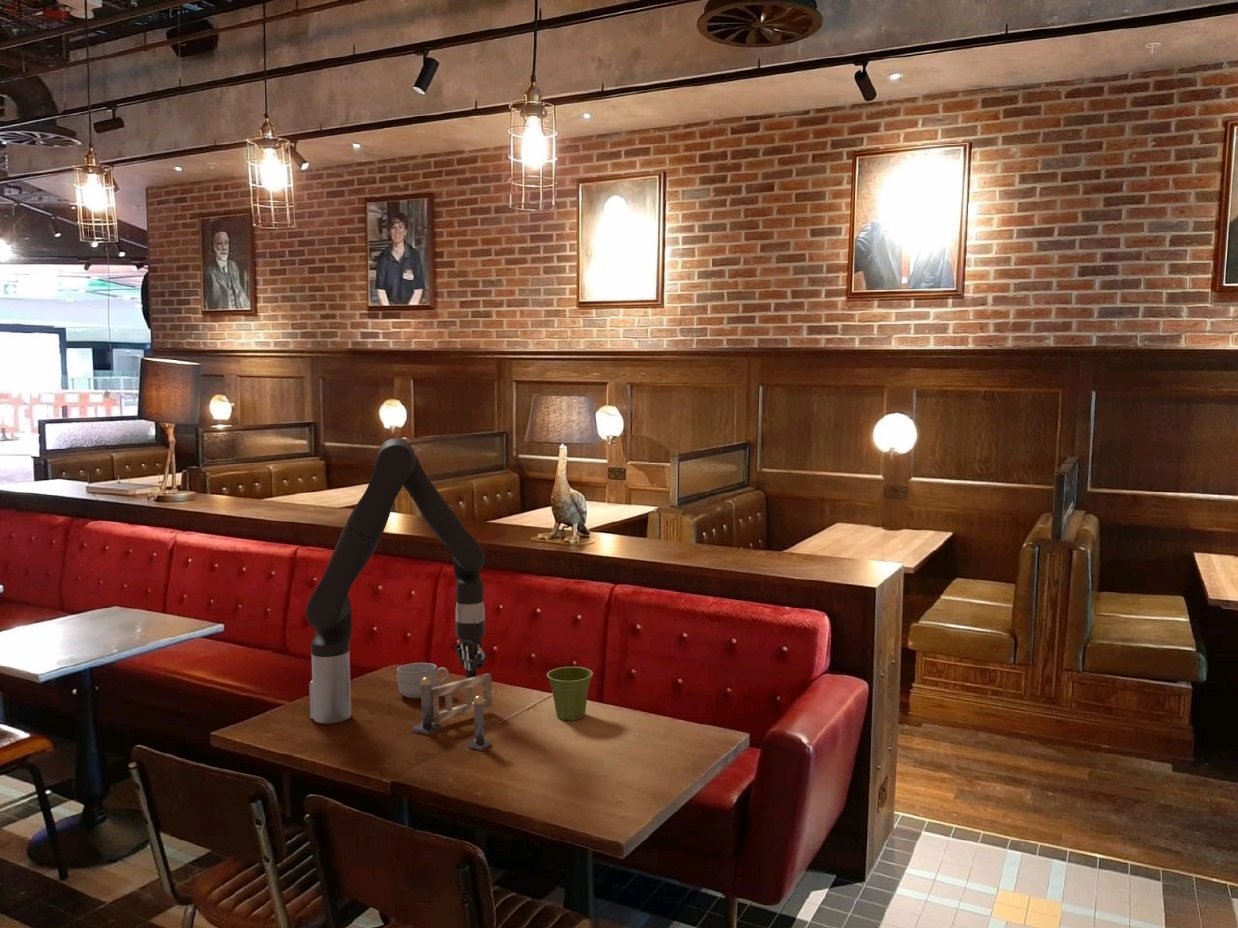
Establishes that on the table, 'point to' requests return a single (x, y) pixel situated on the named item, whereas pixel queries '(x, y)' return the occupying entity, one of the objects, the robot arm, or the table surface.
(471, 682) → the gate
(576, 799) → the table surface
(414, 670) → the teacup
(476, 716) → the latch post
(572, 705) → the plant pot
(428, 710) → the hinge post
